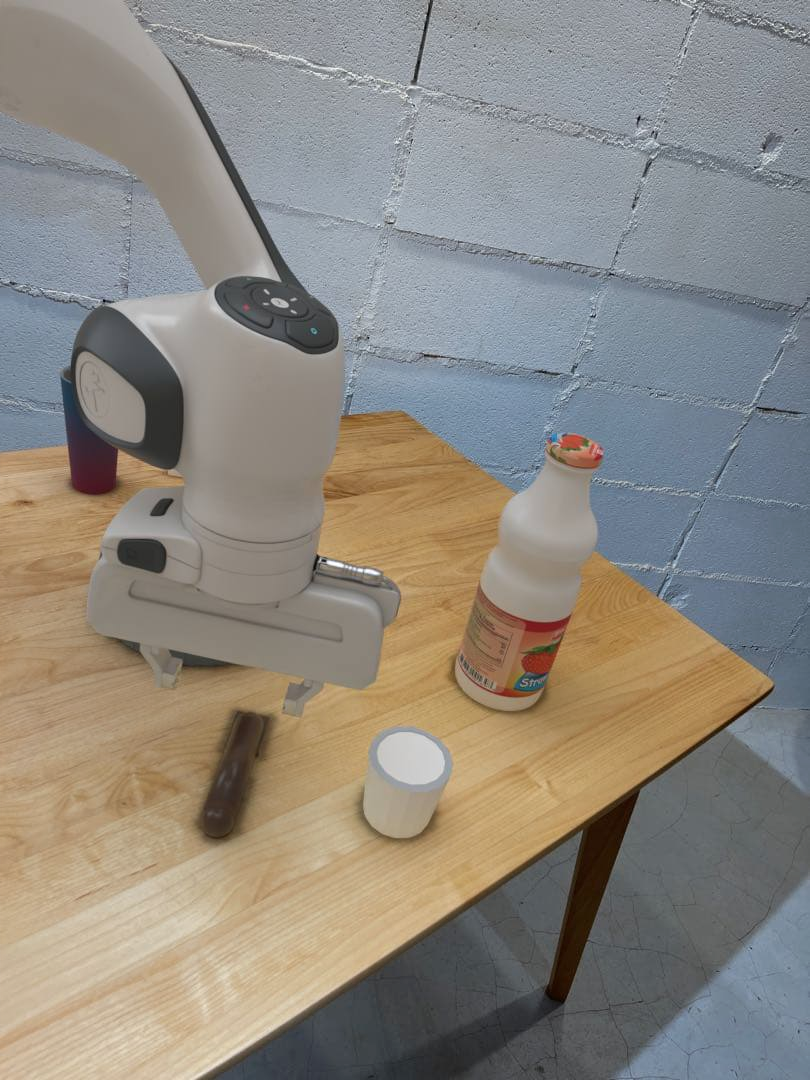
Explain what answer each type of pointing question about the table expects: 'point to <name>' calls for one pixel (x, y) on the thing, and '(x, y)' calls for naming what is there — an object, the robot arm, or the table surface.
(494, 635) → the fruit juice
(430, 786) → the shot glass
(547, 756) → the table surface
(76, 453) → the cup
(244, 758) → the brown bar
